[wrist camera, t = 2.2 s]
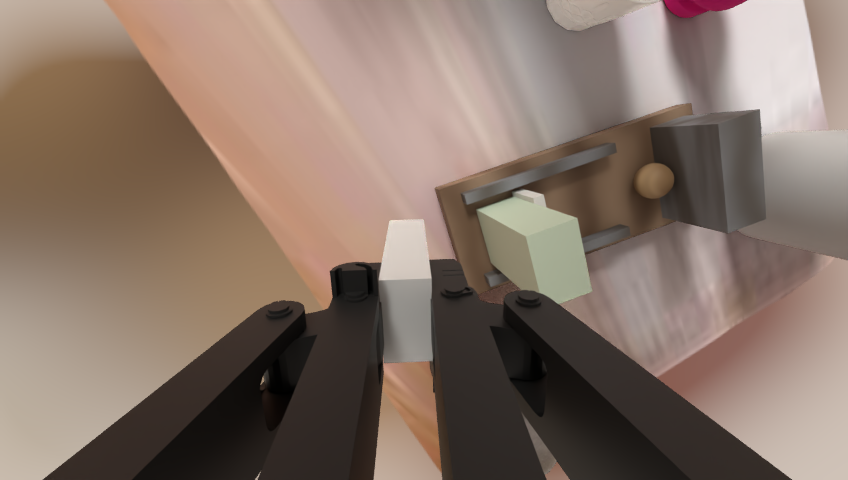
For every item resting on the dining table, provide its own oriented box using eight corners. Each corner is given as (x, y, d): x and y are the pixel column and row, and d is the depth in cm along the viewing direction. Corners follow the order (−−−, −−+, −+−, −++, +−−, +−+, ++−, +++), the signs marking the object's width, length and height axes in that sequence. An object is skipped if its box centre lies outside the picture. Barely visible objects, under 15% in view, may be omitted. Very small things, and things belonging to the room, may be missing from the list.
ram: (492, 267, 41) (545, 315, 29) (474, 204, 39) (524, 229, 27) (536, 251, 41) (605, 292, 30) (520, 188, 39) (588, 206, 28)
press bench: (466, 290, 44) (497, 331, 34) (434, 187, 40) (459, 201, 31) (688, 208, 46) (776, 225, 36) (676, 105, 42) (769, 93, 33)
